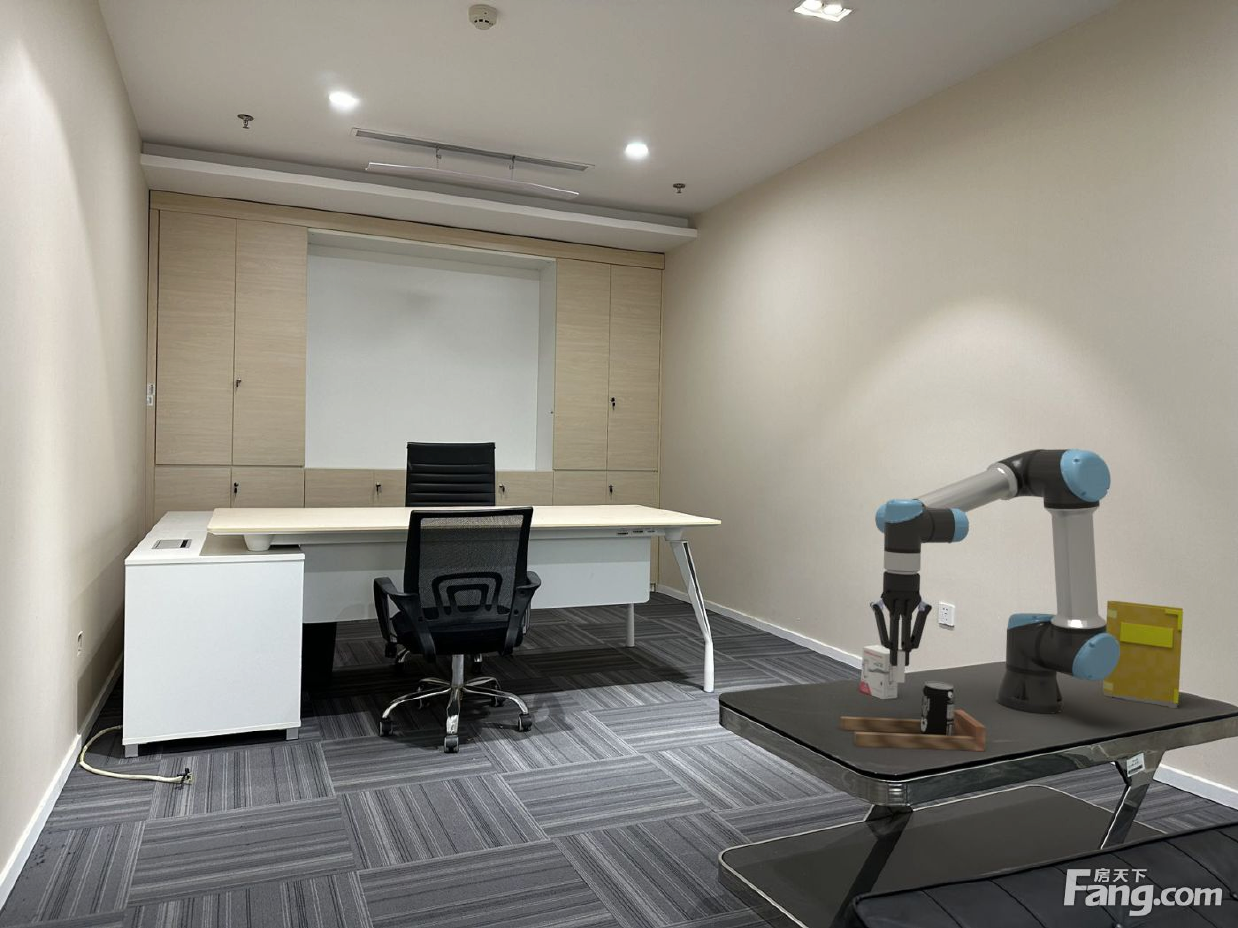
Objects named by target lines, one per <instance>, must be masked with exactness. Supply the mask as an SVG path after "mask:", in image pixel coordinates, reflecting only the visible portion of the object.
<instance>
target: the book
mask: <svg viewBox="0 0 1238 928" xmlns="http://www.w3.org/2000/svg"><path fill="white" fill-rule="evenodd" d="M1183 619H1184V610H1183V607H1175V606H1165V605H1155V604H1148V603H1146V604H1145V603H1137V602H1129V601H1122V600H1121V601H1120V600H1119V601H1118V600H1107V605H1106V620H1105V621H1106V628H1107V633H1109V634H1111V635H1112V636H1114V637H1115V638H1116V640H1117V641H1118V643H1119V646H1120V656H1119V660H1118V663H1117V665H1116V667H1115V669H1114V670H1113V671H1112V673H1111V674H1110V675H1109V676H1108V677H1106V678H1105V679H1103V680H1102V681H1103V683H1102V692H1103V691H1104V692H1105V693H1109V694H1112V695H1119V696H1131V697H1137V698H1143V699H1151V700H1161V701H1166V702H1174V703H1178V704H1179V696H1180V695H1179V693H1180V677H1181V676H1180V675H1181V673H1180V672H1181V661H1182V658H1181V657H1182V656H1181V654H1182V638H1183Z"/></svg>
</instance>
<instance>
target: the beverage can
mask: <svg viewBox="0 0 1238 928" xmlns="http://www.w3.org/2000/svg"><path fill="white" fill-rule="evenodd" d="M921 698H922V699H921V718H920V720H921V733H920V734H925V735H950V736H954V734H953V730H954V710H956V709H955V706H956V692H955V690H954V685H952V684H951V683H948V682H942V681H936V680H932V681H929V680H928V681H925V683H924V687H923V688H922V696H921Z"/></svg>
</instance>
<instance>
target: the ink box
mask: <svg viewBox="0 0 1238 928" xmlns="http://www.w3.org/2000/svg"><path fill="white" fill-rule="evenodd" d="M861 657H862V660H861V674H860V692H863V693H864V694H867V695H870V696H872V697H876V698H878V699H881V700H891V699H897V697H898V683H899V682H896V681H895V680H894V679H893V671H894V666H892V665H891V664H890V662H889V661H890V650H889V649H888V648H885V647H884V646H882V645H878V644H874V645H868V646H867V645H866V646H863V647H862V656H861Z"/></svg>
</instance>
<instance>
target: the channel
mask: <svg viewBox="0 0 1238 928" xmlns="http://www.w3.org/2000/svg"><path fill="white" fill-rule="evenodd" d="M839 728H840V730H841V731H853V745H854V746H855V747H871V748H872V747H875V748H876V747H877V748H895V749H896V748H899V749H920V750H921V749H922V750H923V749H924V750H925V749H926V750H946V751H947V750H948V751H949V750H951V751H969V752H970V751H971V752H972V751H974V752H985V749H986V731H987V729H986V728H987V727H986V726H985V725H983V724H982V723H980V722H979V721H978V720H976V719H975V718H974V717H972V716H971V715H970V714H969V713H966V712H965V711H964V710H962V709H955V710H954V730H953V736H950V735H925V734H921V719H915V718H914V719H912V718H889V717H888V718H887V717H867V716H866V717H865V716H840V717H839Z"/></svg>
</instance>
